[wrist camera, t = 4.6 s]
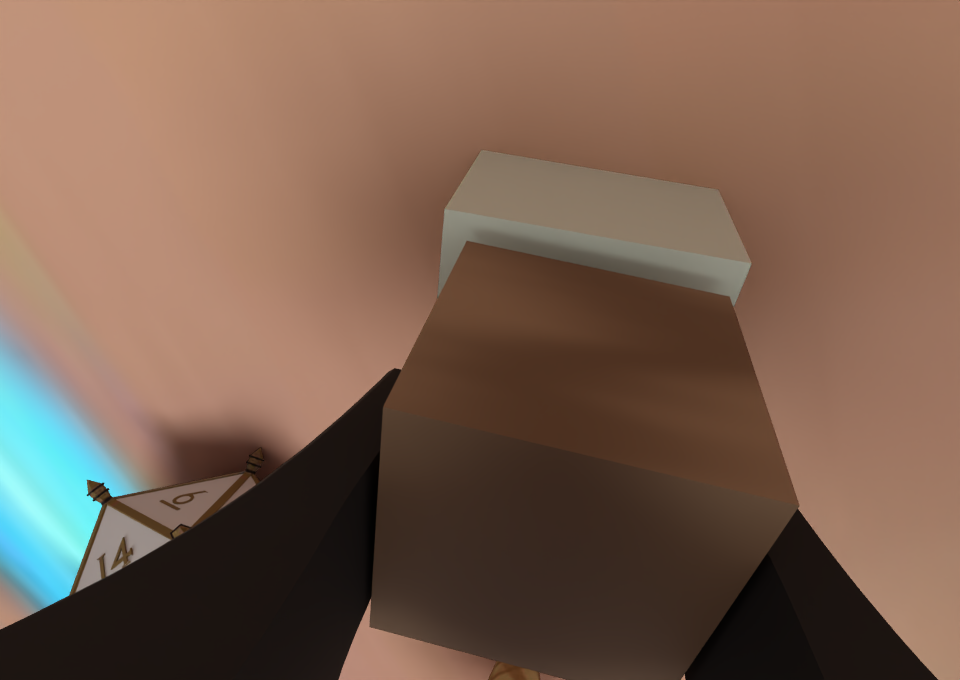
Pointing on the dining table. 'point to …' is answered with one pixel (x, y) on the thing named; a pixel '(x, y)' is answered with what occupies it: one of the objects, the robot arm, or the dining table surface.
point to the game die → (153, 518)
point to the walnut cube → (573, 471)
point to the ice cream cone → (512, 673)
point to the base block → (596, 222)
